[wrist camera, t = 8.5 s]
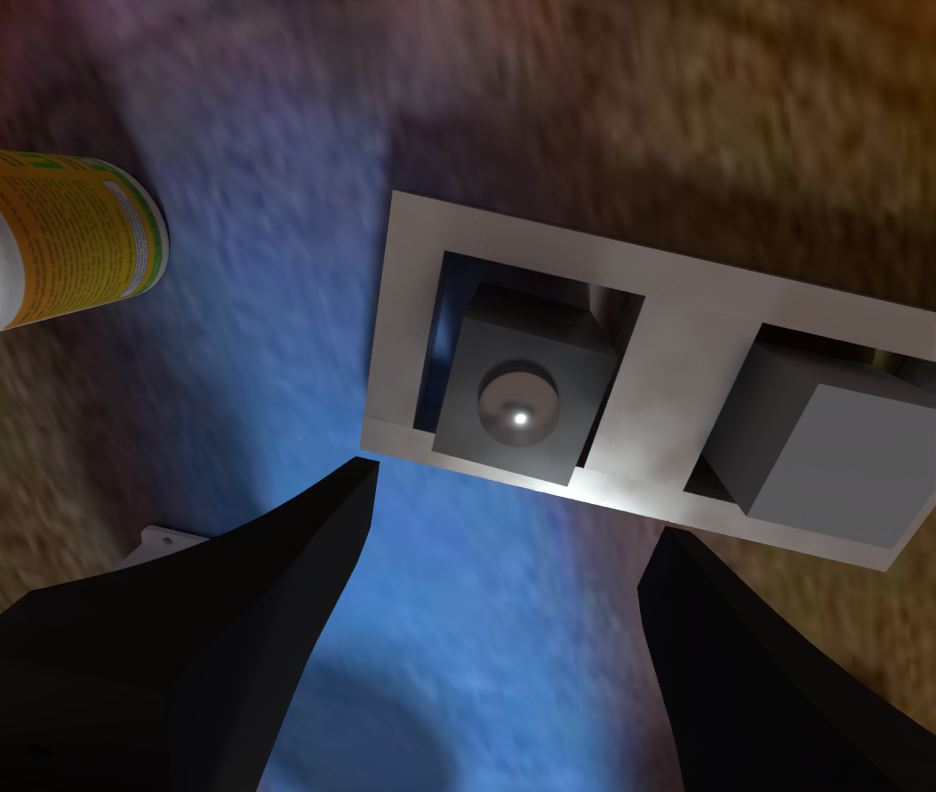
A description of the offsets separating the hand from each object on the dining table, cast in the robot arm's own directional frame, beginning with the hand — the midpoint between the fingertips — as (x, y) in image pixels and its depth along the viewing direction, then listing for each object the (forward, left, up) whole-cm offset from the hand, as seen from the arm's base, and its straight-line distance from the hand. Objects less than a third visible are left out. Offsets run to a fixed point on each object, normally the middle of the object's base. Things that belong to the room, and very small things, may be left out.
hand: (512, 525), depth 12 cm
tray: (+5, +2, -9) cm, 11 cm away
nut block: (0, +2, -9) cm, 10 cm away
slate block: (+11, +2, -9) cm, 14 cm away
